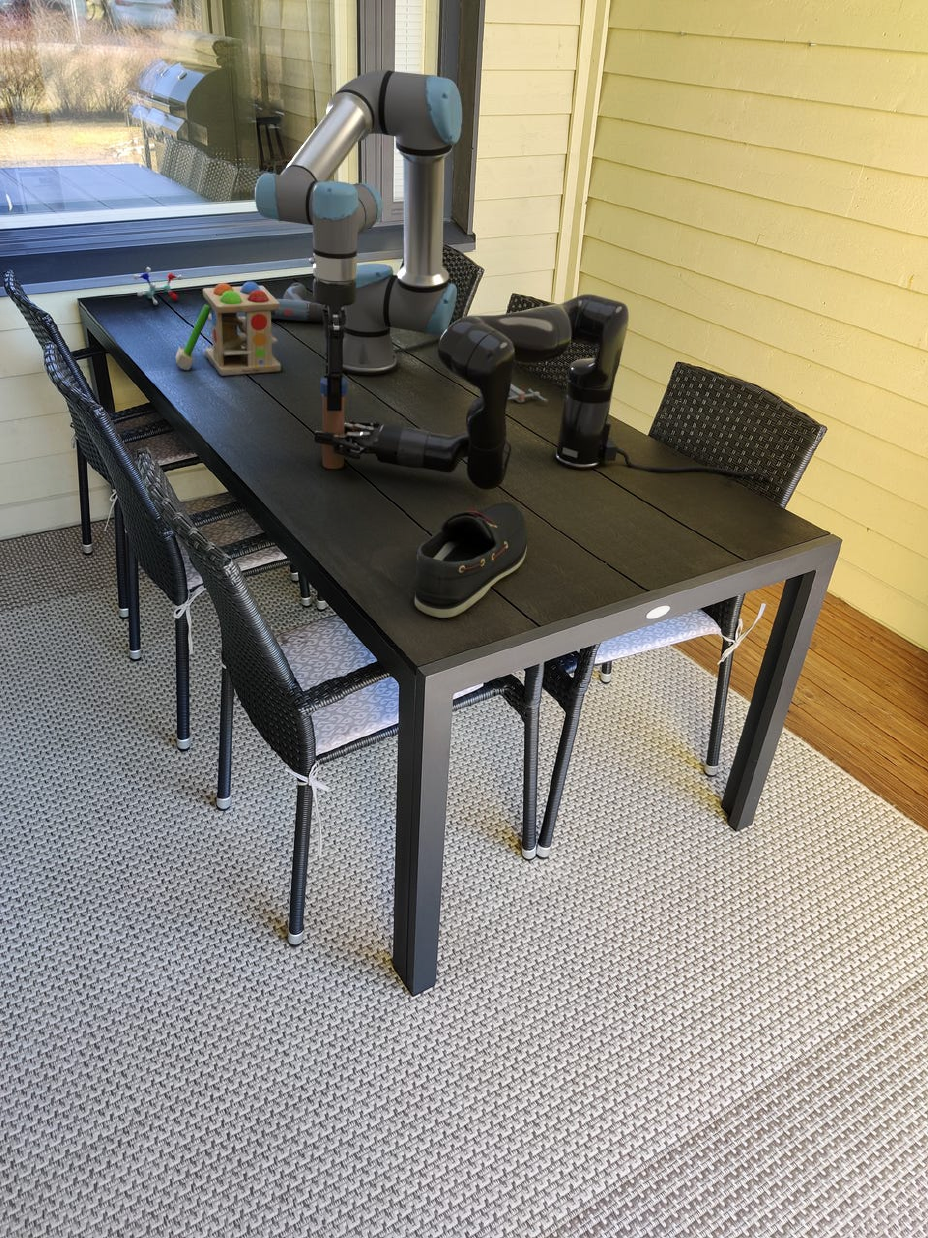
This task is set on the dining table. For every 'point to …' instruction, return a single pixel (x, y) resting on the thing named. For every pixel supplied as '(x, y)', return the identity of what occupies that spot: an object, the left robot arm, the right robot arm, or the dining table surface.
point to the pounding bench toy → (229, 347)
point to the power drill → (298, 306)
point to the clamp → (523, 394)
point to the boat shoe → (468, 558)
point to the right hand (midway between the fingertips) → (319, 431)
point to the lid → (324, 386)
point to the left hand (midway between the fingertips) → (333, 403)
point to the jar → (332, 424)
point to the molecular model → (154, 288)
